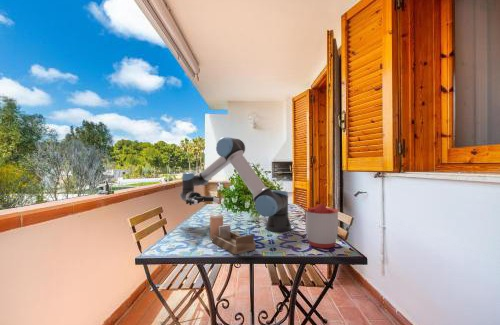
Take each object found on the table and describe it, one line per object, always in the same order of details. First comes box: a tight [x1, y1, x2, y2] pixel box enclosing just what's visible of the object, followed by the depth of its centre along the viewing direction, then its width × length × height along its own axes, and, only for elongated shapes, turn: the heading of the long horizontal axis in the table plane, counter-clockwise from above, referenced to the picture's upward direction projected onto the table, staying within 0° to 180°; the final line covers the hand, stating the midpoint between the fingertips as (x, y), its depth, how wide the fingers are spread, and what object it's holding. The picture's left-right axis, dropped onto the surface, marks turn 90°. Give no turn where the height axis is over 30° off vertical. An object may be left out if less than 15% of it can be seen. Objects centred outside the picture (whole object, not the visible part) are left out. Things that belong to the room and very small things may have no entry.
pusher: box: [219, 224, 231, 240], centre depth 129 cm, size 1×6×7 cm, turn 125°
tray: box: [211, 231, 257, 255], centre depth 123 cm, size 22×11×7 cm, turn 35°
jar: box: [209, 213, 224, 240], centre depth 137 cm, size 7×7×12 cm
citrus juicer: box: [301, 203, 339, 249], centre depth 123 cm, size 16×17×20 cm
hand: (208, 202), depth 145 cm, fingers open, 13 cm apart
